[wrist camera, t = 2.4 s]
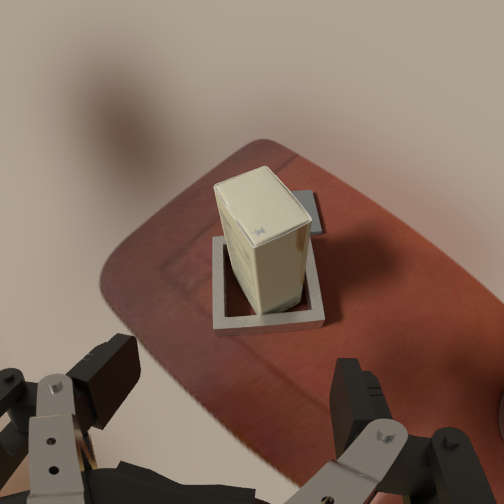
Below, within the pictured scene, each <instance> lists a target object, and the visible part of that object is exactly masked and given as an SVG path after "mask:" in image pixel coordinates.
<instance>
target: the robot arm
mask: <svg viewBox="0 0 504 504" xmlns="http://www.w3.org/2000/svg"><path fill="white" fill-rule="evenodd" d="M140 373H141V367H140V361H139V354H138V346H137V340H136V338H135V337H134V336H130V335H125V334H120V333H117V334H116V335H115V336H113V338H111V339H110V340H109V341H108V342H105V343H103V344H100V345H98V346H96V347H95V348H94V349H93V350H91V351H90V352H89V354H87V355H86V356H85V357H84V358H83V359H82V360H81V361H79V362H78V363H77V364H76V365H75V366H74V367H73V368H72V369H71V370H70V371H69V372H68V373H67V374H66V375H63V374H51V375H48V376H46V377H44V378H43V379H42V380H40V382H39V383H33V382H26V381H25V379H24V376H23V374H22V372H21V371H20V370H18V369H15V368H7V369H4V370H1V371H0V417H1V416H2V415H3V414H4V413H5V412H6V411H7V413H8V415H9V417H10V419H11V421H10V423H9V424H8V425H7V426H6V427H5V428H4V429H3V430H2V431H1V432H0V490H1V489H2V488H3V486H4V485H5V484H6V482H7V481H8V479H9V478H10V477H11V475H12V474H13V473H14V471H15V470H16V469H17V467H18V466H19V465H20V463H21V462H22V461H23V460H24V458H25V457H26V456H27V454H28V453H29V477H30V490H27V491H24V492H20V493H16V494H12V495H8V496H4V497H0V504H270V503H268V502H265V501H263V500H260V499H257V498H255V491H256V489H250V488H241V487H233V486H225V485H182V484H179V483H177V482H175V481H172V480H170V479H168V478H166V477H164V476H162V475H160V474H158V473H156V472H154V471H152V470H150V469H146V468H143V467H139V466H136V465H133V464H129V463H126V462H123V461H120V463H119V465H118V467H117V468H116V469H115V468H102V469H101V468H100V469H98V467H97V463H96V459H95V455H94V450H93V445H92V441H91V436H90V433H89V429H90V427H91V426H93V427H95V428H98V429H101V430H103V429H104V427H105V426H106V424H107V423H108V422H109V421H110V419H111V418H112V416H113V415H114V414H115V412H116V411H117V409H118V408H119V407H120V405H121V404H122V403H123V401H124V400H125V399H126V397H127V396H128V394H129V393H130V392H131V390H132V389H133V388H134V386H135V385H136V383H137V382H138V380H139V378H140ZM330 411H331V418H332V426H333V434H334V442H335V450H336V459H337V461H335V460H330V461H329V462H328V463H327V464H325V465H324V466H323V467H322V469H321V470H320V471H319V472H317V473H316V474H315V475H314V476H313V477H312V478H311V479H310V480H309V481H308V482H307V483H306V484H305V485H304V486H303V487H302V488H301V489H300V490H299V491H297V492H296V493H295V494H294V495H293V496H292V497H291V498H290V499H289V500H288V501H286V502H285V503H284V504H370V503H371V501H372V500H373V499H374V497H375V496H376V494H377V493H378V492H384V493H391V494H398V495H402V497H403V503H404V504H497V503H496V500H495V498H494V495H493V493H492V490H491V488H490V485H489V483H488V480H487V478H486V475H485V473H484V471H483V468H482V466H481V464H480V461H479V459H478V457H477V455H476V452H475V450H474V448H473V446H472V444H471V442H470V440H469V438H468V436H467V435H466V434H465V433H464V432H463V431H461V430H459V429H456V428H452V427H445V428H441V429H439V430H437V431H436V432H435V433H434V434H433V436H432V438H426V437H418V436H412V435H409V434H408V433H407V430H406V428H405V427H404V426H403V425H402V424H400V423H399V422H397V421H394V420H393V418H392V416H391V413H390V410H389V408H388V405H387V402H386V400H385V397H384V396H383V392H382V389H381V386H380V384H379V381H378V379H377V378H376V377H375V376H374V375H373V374H372V373H371V372H370V371H362V370H361V367H360V364H359V362H358V359H357V358H338V359H337V362H336V366H335V371H334V376H333V381H332V386H331V390H330ZM499 428H500V432H501V436H502V438H503V440H504V393H503V395H502V399H501V402H500V408H499Z"/></svg>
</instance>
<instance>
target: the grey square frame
mask: <svg viewBox="0 0 504 504" xmlns="http://www.w3.org/2000/svg"><path fill="white" fill-rule="evenodd" d="M226 256H229V252H228V248H227V244H226V239H225V236H217V237H213V330H214V332H215V333H216V335H217V337H220V336H237V335H251V334H264V333H275V332H286V331H296V330H305V329H314V328H321V327H322V325H323V323H324V321H325V316H324V310H323V304H322V298H321V292H320V287H319V281H318V275H317V270H316V265H315V259H314V254H313V249H312V244H311V239H309V247H308V254H307V261H306V268H305V275H304V287H305V294H306V300H307V307H308V310H307V311H298V312H287V313H276V314H265V315H252V316H239V317H227V288H226Z"/></svg>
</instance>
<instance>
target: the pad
mask: <svg viewBox="0 0 504 504" xmlns="http://www.w3.org/2000/svg"><path fill="white" fill-rule="evenodd" d="M290 192H291V193H292V194H293V195H294V196H295V198H296V199H297V200H298V201H299V202H300V204H301V205H302V206H303V207H304V209H305V210H306V211H307V212H308V214H309V215H310V217H311V218H312V225H311V232H310V235H321V234H322V229H321V225H320V221H319V216H318V212H317V208H316V204H315V200H314V196H313V192H312V190H302V191H290Z"/></svg>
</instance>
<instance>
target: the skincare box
mask: <svg viewBox="0 0 504 504" xmlns="http://www.w3.org/2000/svg"><path fill="white" fill-rule="evenodd" d="M214 191H215V196H216V200H217V205H218V209H219V213H220V218H221V222H222V226H223V231H224V235H225V239H226V244H227V248H228V252H229V256H230V260H231V265H232V269H233V273H234V275H235V277H236V279H237V281H238V283H239V285H240V287H241V289H242V290H243V292H244V294H245V296H246V297H247V299H248V301H249V302H250V304H251V306H252V307H253V309H254V311H255V312H256V314H257V315H265V314H276V313H282V312H284V311H286V310H287V309H289V308H291V307H293V306H294V305H296V304H298V303H299V302H300V300H301V294H302V288H303V281H304V275H305V268H306V261H307V254H308V247H309V239H310V232H311V225H312V218H311V217H310V215H309V214H308V212H307V211H306V210H305V209H304V207H303V206H302V205H301V204H300V202H299V201H298V200H297V199H296V198H295V196H294V195H293V194H292V193H291V192H290V191H289V189H288V188H287V187H286V186H285V185H284V184H283V183H282V182H281V181H280V179H279V178H278V177H277V176H276V175H275V174H274V173H273V172H272V171H271V170H270V169H269V168H268V167H267V166H263V167H260V168H257V169H255V170H252V171H249V172H246V173H243V174H241V175H238V176H236V177H233V178H230V179H228V180H225V181H223V182H220V183H217V184H215V185H214Z"/></svg>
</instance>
